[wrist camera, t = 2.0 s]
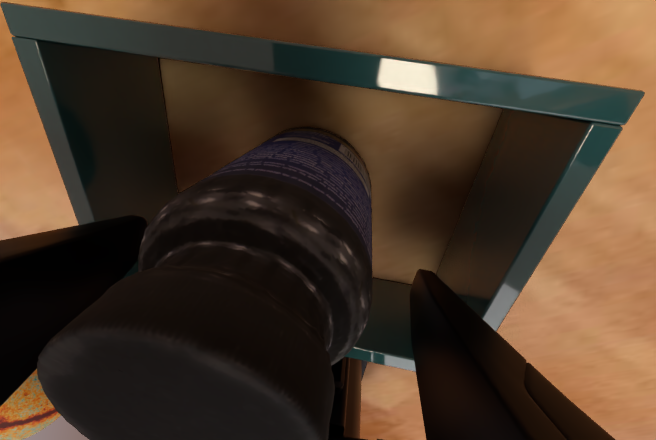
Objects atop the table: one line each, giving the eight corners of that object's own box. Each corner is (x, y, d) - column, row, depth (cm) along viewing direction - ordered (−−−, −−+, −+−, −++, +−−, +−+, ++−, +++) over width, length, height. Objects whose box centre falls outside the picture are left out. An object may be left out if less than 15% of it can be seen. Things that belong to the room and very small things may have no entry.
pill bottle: (247, 124, 13) (-129, 256, 3) (375, 125, 12) (396, 301, 2) (263, 235, 16) (90, 484, 6) (368, 241, 15) (365, 539, 5)
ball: (98, 384, 27) (17, 475, 21) (29, 352, 26) (-79, 437, 20) (109, 349, 24) (16, 443, 17) (30, 311, 23) (-98, 397, 16)
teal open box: (439, 300, 16) (465, 383, 12) (175, 249, 17) (107, 307, 13) (533, 87, 11) (648, 90, 6) (137, 31, 12) (-3, 1, 7)
